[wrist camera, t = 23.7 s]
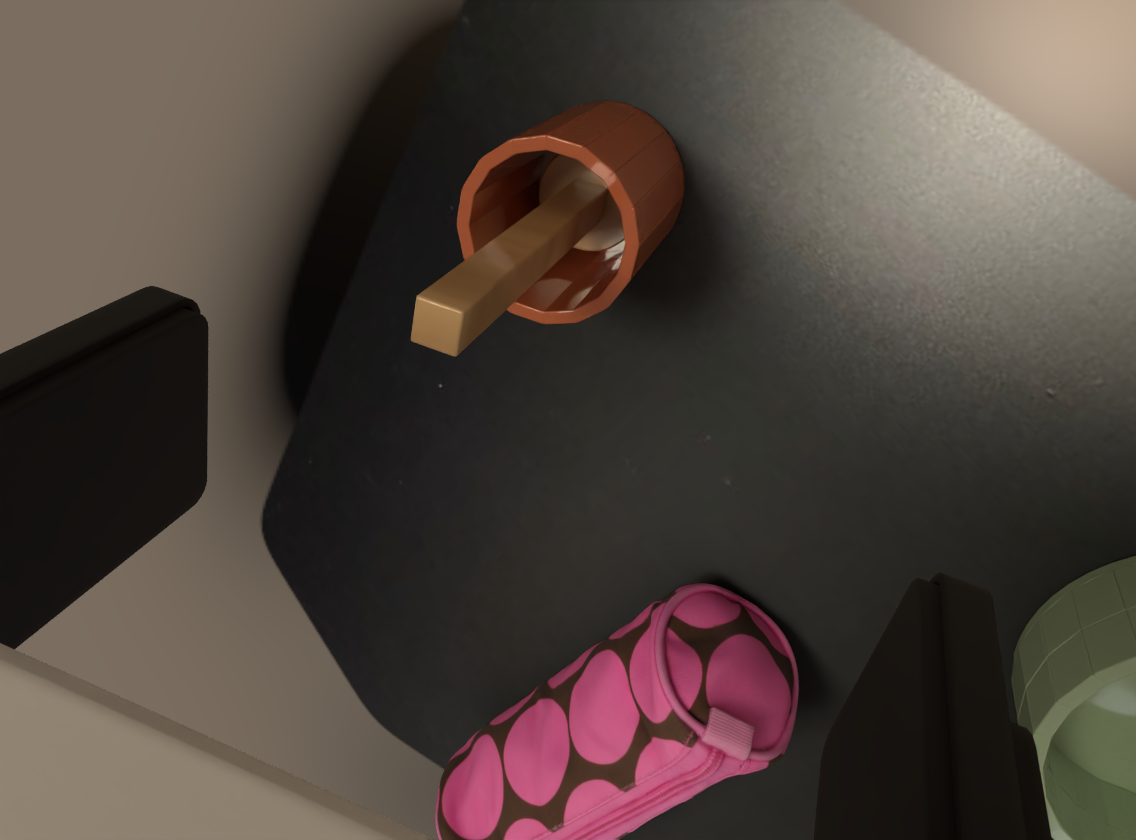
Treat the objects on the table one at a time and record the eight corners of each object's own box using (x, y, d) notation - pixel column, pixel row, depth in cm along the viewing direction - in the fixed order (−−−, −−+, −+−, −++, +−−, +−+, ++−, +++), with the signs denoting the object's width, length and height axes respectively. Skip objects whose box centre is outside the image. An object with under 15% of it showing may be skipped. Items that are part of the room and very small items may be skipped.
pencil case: (585, 819, 57) (530, 972, 48) (465, 722, 56) (389, 860, 48) (831, 652, 45) (816, 814, 37) (684, 529, 45) (635, 665, 36)
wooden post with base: (568, 121, 37) (373, 228, 23) (666, 151, 36) (524, 279, 23) (548, 218, 39) (357, 369, 25) (639, 248, 39) (495, 420, 25)
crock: (550, 81, 37) (473, 111, 30) (704, 126, 36) (660, 169, 29) (520, 232, 40) (445, 290, 34) (660, 278, 39) (611, 348, 33)
